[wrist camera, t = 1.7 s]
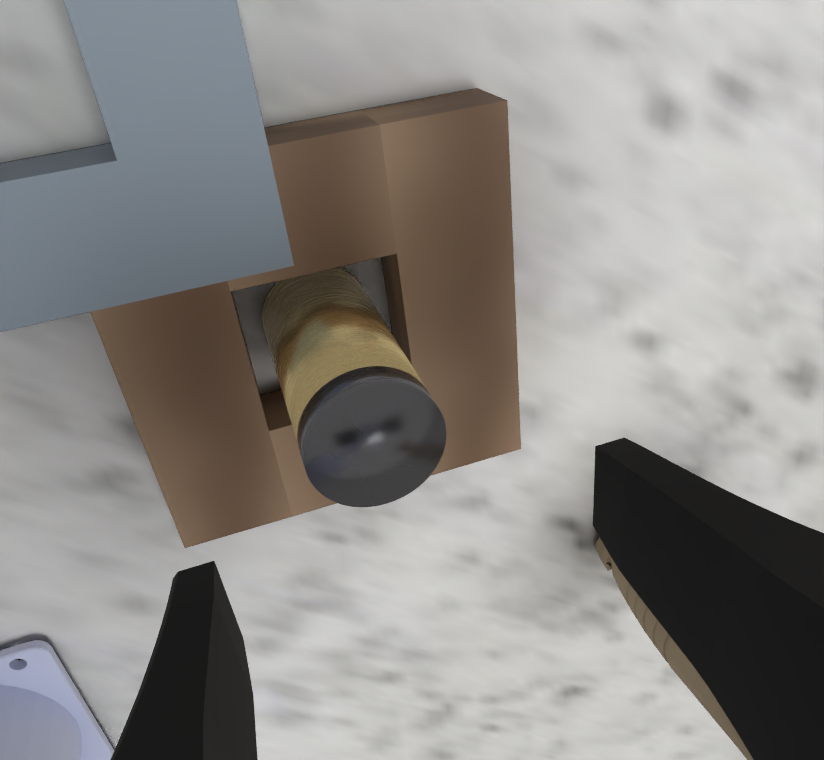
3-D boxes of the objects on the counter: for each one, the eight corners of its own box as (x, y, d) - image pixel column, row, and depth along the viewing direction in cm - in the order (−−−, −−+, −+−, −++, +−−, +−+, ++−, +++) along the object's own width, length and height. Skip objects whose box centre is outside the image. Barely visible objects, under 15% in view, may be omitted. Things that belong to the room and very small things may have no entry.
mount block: (182, 506, 23) (184, 548, 21) (52, 167, 17) (41, 189, 16) (496, 416, 25) (520, 448, 24) (476, 88, 19) (507, 100, 18)
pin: (275, 374, 22) (318, 523, 16) (250, 278, 20) (289, 407, 14) (375, 348, 22) (452, 483, 17) (359, 253, 21) (439, 367, 15)
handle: (540, 565, 30) (811, 990, 18) (638, 449, 28) (1013, 829, 16) (613, 591, 32) (896, 981, 20) (707, 485, 31) (1079, 840, 18)
